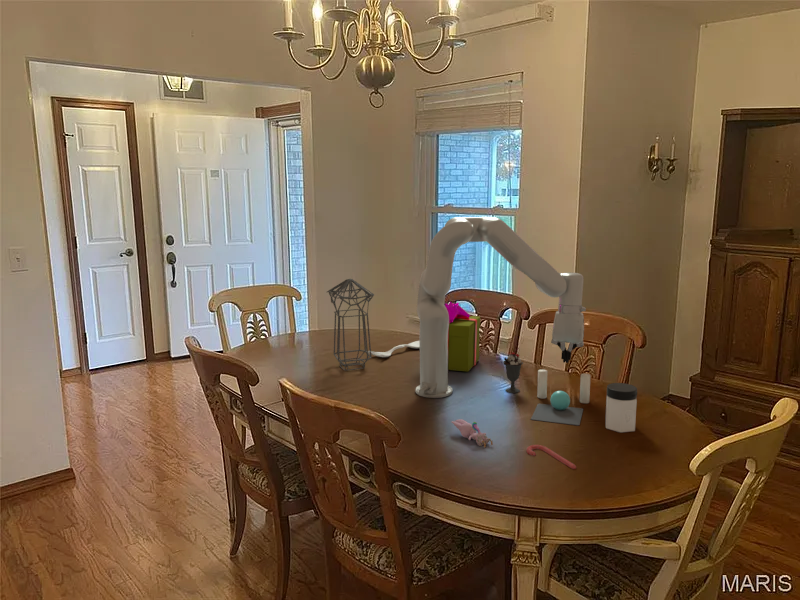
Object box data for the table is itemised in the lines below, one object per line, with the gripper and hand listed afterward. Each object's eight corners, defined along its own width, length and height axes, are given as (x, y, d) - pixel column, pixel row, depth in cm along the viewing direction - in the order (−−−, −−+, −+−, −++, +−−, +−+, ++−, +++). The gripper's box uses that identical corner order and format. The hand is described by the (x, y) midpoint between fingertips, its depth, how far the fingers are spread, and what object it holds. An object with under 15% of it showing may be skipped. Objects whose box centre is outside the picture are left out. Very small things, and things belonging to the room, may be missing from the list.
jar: (613, 434, 170) (616, 393, 167) (598, 423, 177) (600, 384, 175) (642, 430, 171) (644, 390, 169) (625, 420, 179) (627, 381, 177)
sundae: (524, 389, 208) (525, 346, 205) (519, 395, 202) (520, 351, 199) (505, 386, 211) (506, 345, 208) (500, 392, 205) (501, 349, 202)
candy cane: (558, 475, 147) (558, 470, 147) (521, 451, 161) (521, 446, 160) (577, 470, 150) (577, 465, 149) (540, 447, 163) (540, 442, 163)
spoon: (366, 358, 249) (366, 350, 249) (420, 343, 271) (420, 336, 270) (381, 362, 243) (381, 354, 242) (435, 347, 265) (435, 339, 264)
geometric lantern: (366, 360, 245) (364, 274, 239) (377, 371, 231) (375, 280, 224) (328, 364, 240) (324, 277, 234) (336, 375, 226) (333, 283, 219)
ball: (569, 404, 191) (569, 415, 186) (549, 401, 193) (549, 412, 187) (571, 388, 189) (571, 398, 183) (551, 385, 190) (550, 396, 185)
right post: (588, 403, 193) (590, 376, 191) (579, 402, 194) (580, 375, 192) (589, 400, 196) (590, 374, 194) (579, 399, 197) (581, 373, 195)
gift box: (480, 358, 246) (480, 298, 241) (477, 374, 225) (478, 308, 221) (430, 356, 249) (429, 297, 245) (423, 371, 229) (422, 307, 224)
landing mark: (579, 425, 176) (579, 425, 176) (530, 419, 181) (530, 419, 181) (583, 409, 188) (583, 408, 188) (537, 404, 193) (537, 403, 193)
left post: (545, 399, 198) (546, 372, 196) (536, 398, 199) (537, 371, 197) (547, 396, 201) (547, 370, 199) (538, 395, 202) (538, 369, 200)
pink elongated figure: (496, 449, 164) (461, 423, 176) (499, 429, 162) (463, 405, 174) (479, 455, 161) (444, 428, 172) (481, 435, 159) (446, 410, 171)
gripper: (593, 309, 205) (589, 361, 208) (548, 305, 210) (545, 356, 214) (591, 313, 198) (587, 367, 201) (545, 309, 203) (542, 361, 207)
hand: (565, 361), depth 207 cm, fingers closed
